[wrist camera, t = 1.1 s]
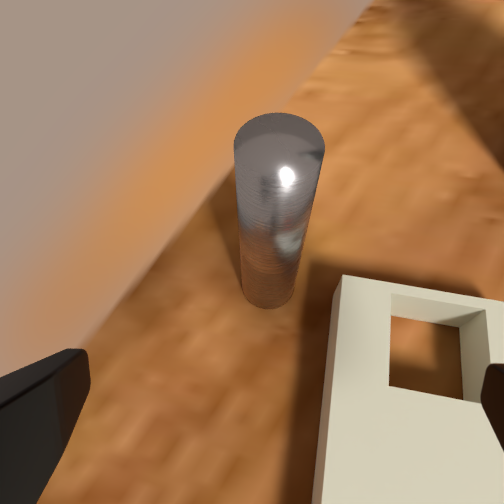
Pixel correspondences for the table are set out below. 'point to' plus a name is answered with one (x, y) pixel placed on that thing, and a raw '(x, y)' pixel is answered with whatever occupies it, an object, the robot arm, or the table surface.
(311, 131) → the peg
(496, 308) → the socket board
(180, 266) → the table surface
